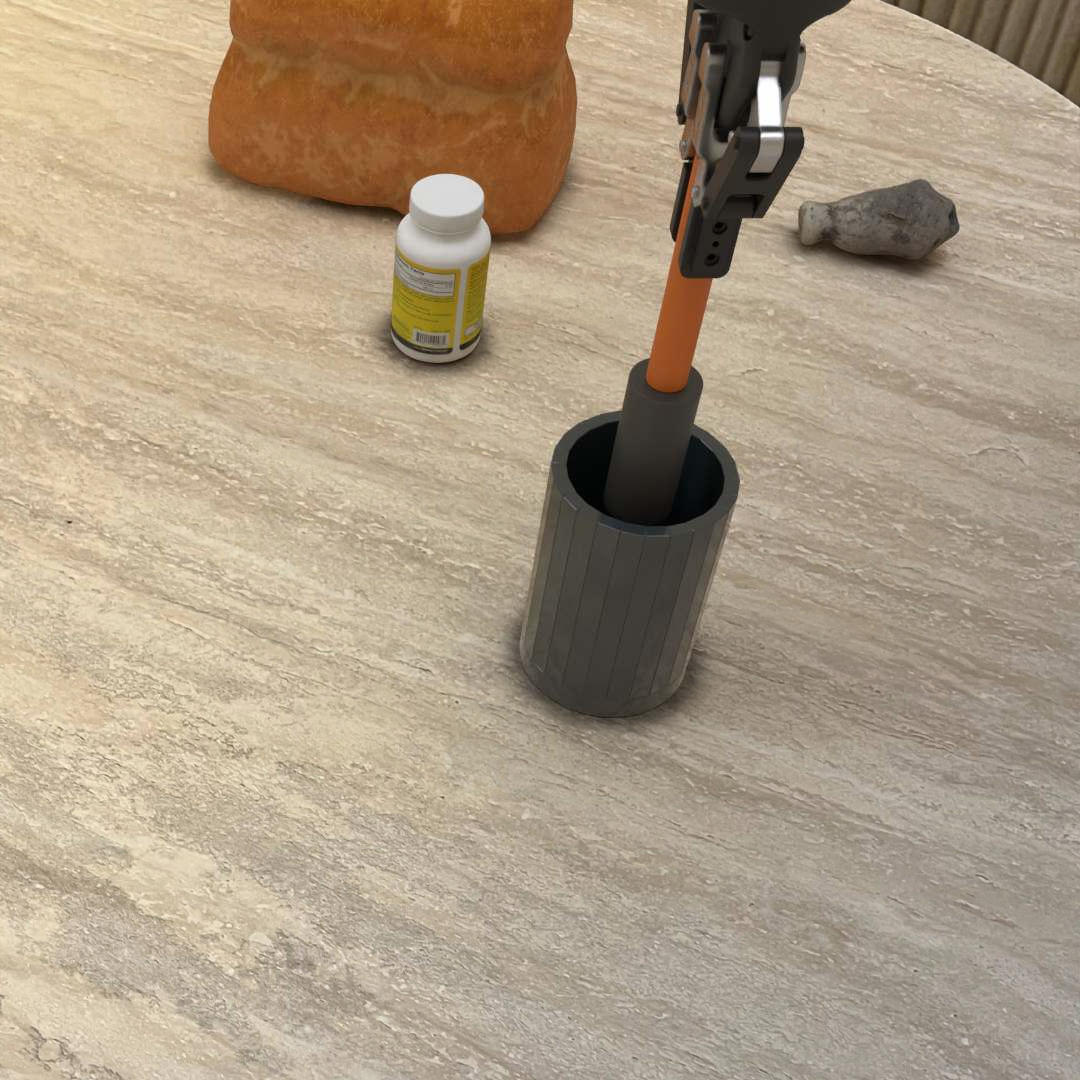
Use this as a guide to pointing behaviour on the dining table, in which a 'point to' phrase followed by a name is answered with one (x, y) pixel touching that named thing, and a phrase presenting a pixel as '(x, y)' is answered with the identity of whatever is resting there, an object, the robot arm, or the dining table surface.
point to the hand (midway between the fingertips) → (697, 254)
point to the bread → (399, 100)
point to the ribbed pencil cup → (621, 576)
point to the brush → (660, 401)
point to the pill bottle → (440, 270)
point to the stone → (883, 221)
